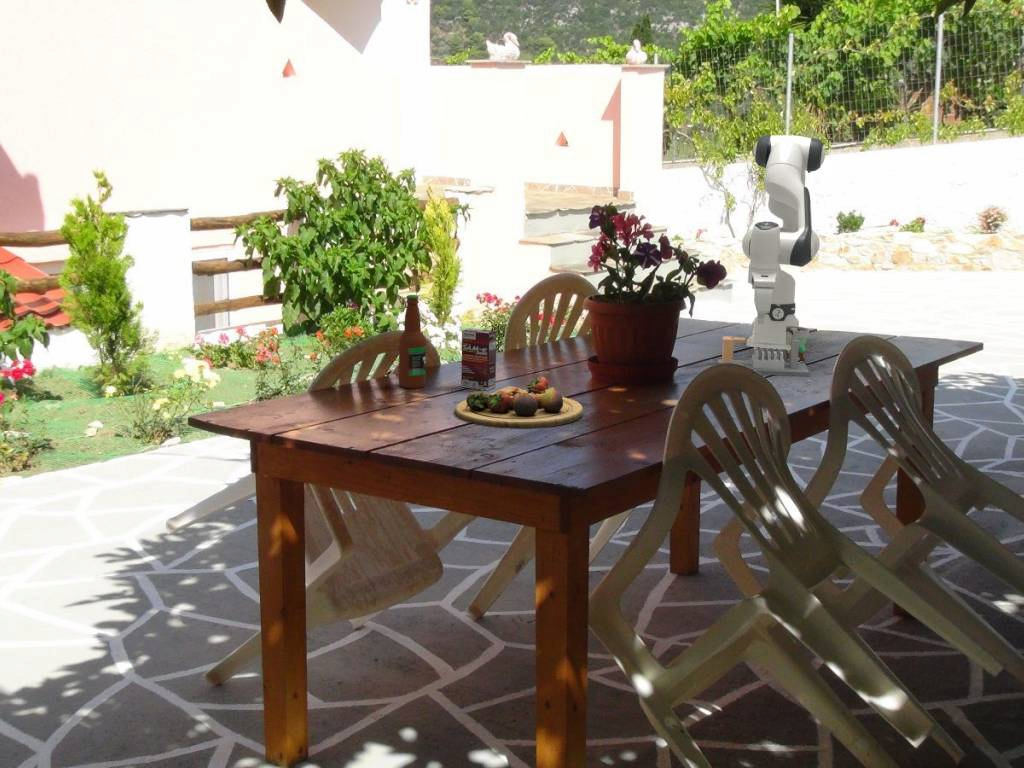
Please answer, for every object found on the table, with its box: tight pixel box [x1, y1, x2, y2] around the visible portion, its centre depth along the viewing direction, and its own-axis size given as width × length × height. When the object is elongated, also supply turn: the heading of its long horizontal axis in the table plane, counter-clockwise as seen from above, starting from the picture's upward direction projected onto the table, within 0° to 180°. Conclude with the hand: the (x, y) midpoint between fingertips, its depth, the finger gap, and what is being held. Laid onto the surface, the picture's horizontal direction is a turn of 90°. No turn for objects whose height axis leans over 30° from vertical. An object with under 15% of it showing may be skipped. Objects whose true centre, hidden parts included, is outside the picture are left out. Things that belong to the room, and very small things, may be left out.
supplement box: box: [460, 327, 498, 391], centre depth 349 cm, size 9×5×16 cm, turn 62°
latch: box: [721, 336, 747, 363], centre depth 384 cm, size 6×6×8 cm
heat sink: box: [717, 338, 810, 377], centre depth 383 cm, size 16×26×10 cm, turn 82°
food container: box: [784, 326, 810, 363], centre depth 400 cm, size 12×6×10 cm, turn 179°
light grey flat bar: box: [745, 340, 792, 350], centre depth 382 cm, size 3×15×1 cm, turn 82°
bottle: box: [398, 294, 427, 390], centre depth 348 cm, size 7×7×25 cm
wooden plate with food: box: [454, 376, 584, 429], centre depth 319 cm, size 32×32×8 cm
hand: (760, 323), depth 382 cm, fingers closed
